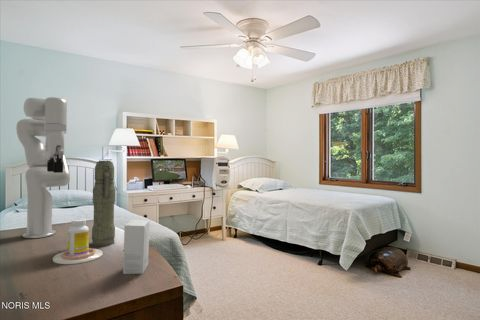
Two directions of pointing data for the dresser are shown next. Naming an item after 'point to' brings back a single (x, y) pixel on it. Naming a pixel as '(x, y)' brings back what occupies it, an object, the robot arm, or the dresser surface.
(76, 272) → the dresser surface
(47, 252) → the dresser surface
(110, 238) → the olive tall rounded piece
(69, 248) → the supplement bottle
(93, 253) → the ring stand
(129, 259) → the skincare box
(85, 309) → the dresser surface
